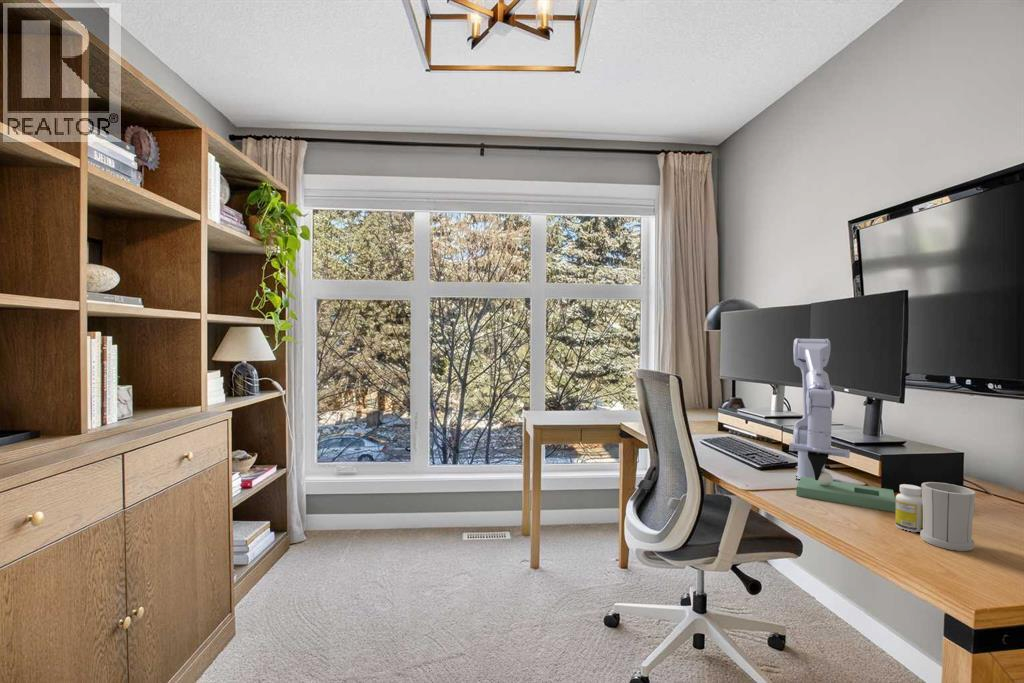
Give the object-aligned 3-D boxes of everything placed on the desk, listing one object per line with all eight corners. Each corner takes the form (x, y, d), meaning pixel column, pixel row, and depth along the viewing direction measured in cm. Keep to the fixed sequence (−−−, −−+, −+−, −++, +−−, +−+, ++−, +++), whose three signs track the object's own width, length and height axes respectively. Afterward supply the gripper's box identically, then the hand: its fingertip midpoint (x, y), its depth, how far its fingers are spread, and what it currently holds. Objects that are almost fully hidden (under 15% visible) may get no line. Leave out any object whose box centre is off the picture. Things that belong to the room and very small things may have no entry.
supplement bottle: (914, 525, 119) (915, 483, 119) (930, 534, 114) (932, 490, 114) (889, 523, 120) (890, 482, 120) (905, 532, 114) (906, 489, 114)
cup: (920, 529, 116) (921, 477, 116) (973, 540, 111) (975, 485, 110) (919, 544, 108) (921, 488, 108) (977, 556, 102) (979, 497, 102)
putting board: (800, 484, 151) (800, 476, 151) (892, 498, 139) (893, 489, 139) (796, 495, 140) (796, 486, 140) (895, 512, 128) (896, 502, 128)
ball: (813, 475, 145) (823, 466, 143) (826, 485, 144) (836, 476, 142) (812, 480, 142) (822, 470, 140) (825, 490, 140) (835, 481, 139)
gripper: (788, 429, 143) (786, 477, 143) (849, 436, 135) (848, 487, 135) (791, 426, 149) (789, 473, 149) (850, 433, 141) (849, 482, 141)
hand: (817, 479), depth 143 cm, fingers closed, pressing on ball
